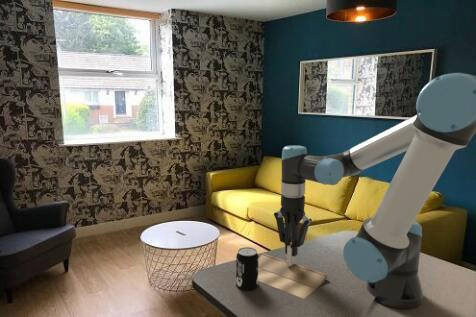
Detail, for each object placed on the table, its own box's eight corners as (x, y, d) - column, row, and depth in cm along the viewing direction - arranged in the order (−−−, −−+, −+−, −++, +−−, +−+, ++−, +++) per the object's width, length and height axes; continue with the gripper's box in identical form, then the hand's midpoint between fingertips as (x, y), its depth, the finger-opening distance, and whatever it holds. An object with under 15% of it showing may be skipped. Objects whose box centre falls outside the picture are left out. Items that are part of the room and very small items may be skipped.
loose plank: (327, 277, 111) (326, 274, 111) (316, 291, 106) (316, 288, 106) (263, 256, 126) (263, 253, 126) (251, 267, 121) (251, 264, 121)
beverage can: (256, 295, 104) (256, 256, 102) (234, 293, 105) (234, 254, 104) (259, 284, 111) (260, 247, 109) (238, 282, 112) (238, 245, 110)
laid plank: (316, 292, 106) (316, 288, 106) (304, 302, 101) (304, 299, 100) (251, 268, 121) (251, 264, 121) (237, 276, 116) (237, 272, 115)
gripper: (317, 195, 112) (314, 265, 117) (281, 188, 120) (280, 254, 125) (305, 201, 107) (302, 274, 111) (269, 193, 115) (268, 262, 119)
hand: (290, 263), depth 118 cm, fingers closed
